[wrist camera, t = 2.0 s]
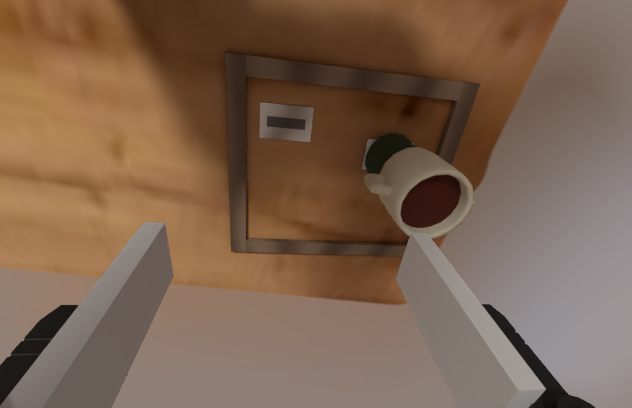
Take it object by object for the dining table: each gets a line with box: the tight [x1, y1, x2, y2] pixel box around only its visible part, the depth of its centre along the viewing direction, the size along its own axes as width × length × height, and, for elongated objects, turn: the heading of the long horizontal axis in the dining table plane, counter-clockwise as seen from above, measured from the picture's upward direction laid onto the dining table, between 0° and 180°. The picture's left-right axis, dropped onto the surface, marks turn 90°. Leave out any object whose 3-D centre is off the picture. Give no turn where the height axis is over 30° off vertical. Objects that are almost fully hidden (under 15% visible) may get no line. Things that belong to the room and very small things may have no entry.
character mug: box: [364, 133, 475, 239], centre depth 31 cm, size 11×7×13 cm, turn 79°
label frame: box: [225, 52, 480, 257], centre depth 37 cm, size 28×25×1 cm
